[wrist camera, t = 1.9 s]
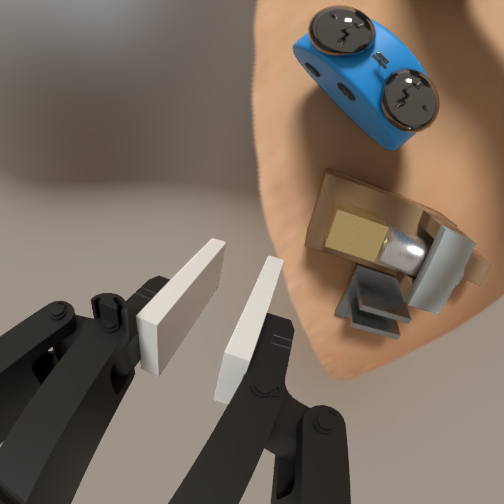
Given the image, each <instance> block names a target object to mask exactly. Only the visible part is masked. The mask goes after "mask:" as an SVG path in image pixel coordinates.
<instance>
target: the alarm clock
mask: <svg viewBox="0 0 504 504" xmlns="http://www.w3.org/2000/svg"><path fill="white" fill-rule="evenodd" d="M293 52H294V55H295V56H296V58H297V60H298V61H299V62H300V64H301V65H302V66H303V67H304V69H305V70H306V71H307V72H308V73H309V75H310V76H311V77H312V78H313V79H314V80H315V81H316V83H317V84H318V85H319V86H320V87H321V88H322V89H323V90H324V91H325V92H326V93H327V94H328V96H329V97H330V98H331V99H332V100H333V101H334V102H335V103H336V104H337V105H338V106H339V107H340V108H341V109H342V110H343V111H344V112H345V113H346V114H347V115H348V116H349V117H350V118H351V119H352V120H353V121H354V122H355V123H356V124H357V125H358V126H359V127H360V128H361V129H362V130H363V131H364V132H365V133H366V134H367V135H368V136H370V137H371V138H372V139H373V140H374V141H375V142H376V143H378V144H379V145H380V146H382V147H383V148H385V149H387V150H390V151H395V150H397V149H398V148H399V147H400V146H402V145H403V144H404V143H405V142H406V141H407V140H409V139H410V138H411V137H412V136H413V135H414V134H416V133H417V132H421V131H423V130H426V129H427V128H429V127H430V126H431V125H432V124H433V123H434V121H435V120H436V118H437V115H438V112H439V106H440V101H439V95H438V92H437V90H436V87H435V86H434V84H433V82H432V81H431V80H430V79H429V78H428V76H427V74H426V72H425V70H424V69H423V67H422V66H421V64H420V63H419V61H418V60H417V59H416V57H415V56H414V55H413V54H412V52H411V51H410V50H409V49H408V48H407V47H406V46H405V45H404V44H403V43H402V42H401V41H400V40H399V39H398V38H397V37H396V36H395V35H394V34H392V33H391V32H390V31H389V30H387V29H386V28H385V27H383V26H382V25H380V24H379V23H377V22H375V21H374V20H372V19H370V18H369V17H368V16H367V15H366V14H365V13H363V12H362V11H360V10H358V9H356V8H353V7H350V6H343V5H335V6H330V7H326V8H324V9H322V10H320V11H319V12H317V13H316V14H315V15H314V16H313V17H312V19H311V21H310V23H309V26H308V33H307V34H305V35H304V36H303V37H302V38H300V39H299V40H298V41H297V42H296V43H295V44H294V45H293Z"/></svg>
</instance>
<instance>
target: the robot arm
mask: <svg viewBox="0 0 504 504" xmlns="http://www.w3.org/2000/svg"><path fill="white" fill-rule="evenodd" d="M225 248H226V242H224V241H221V240H217V239H214V238H212V239H211V240H210V241H209V242H208V243H207V244H206V245H205V246H204V247H203V248H202V249H201V250H200V251H199V252H198V253H197V254H196V255H195V256H194V257H193V258H192V259H191V260H190V261H189V262H188V263H187V264H186V265H185V266H184V267H183V268H182V269H181V270H180V271H179V272H178V273H177V274H176V275H175V276H174V277H173V278H172V279H171V280H169V279H166V278H164V277H161V276H157V277H155V278H152V279H150V280H148V281H147V282H146V283H145V284H144V285H143V286H142V287H141V288H140V289H138V290H137V291H136V293H134V294H133V295H132V296H131V297H130V298H129V299H128V300H127V301H125V300H124V299H123V298H122V297H121V296H119V295H117V294H112V293H102V294H99V295H96V296H95V297H93V298H92V299H91V304H92V309H93V315H94V319H92V318H87V317H83V316H79V315H75V312H74V308H73V307H72V305H71V304H69V303H67V302H65V301H55V302H52V303H50V304H48V305H47V306H45V307H43V308H42V309H40V310H39V311H37V312H36V313H34V314H33V315H31V316H30V317H28V318H27V319H25V320H24V321H22V322H21V323H19V324H18V325H16V326H15V327H13V328H12V329H11V330H9V331H8V332H6V333H5V334H3V335H2V336H1V337H0V444H1V443H2V442H3V441H4V440H5V441H4V442H3V444H2V446H1V447H0V504H71V502H72V500H73V498H74V495H75V493H76V491H77V489H78V487H79V484H80V482H81V480H82V478H83V476H84V474H85V472H86V469H87V467H88V465H89V463H90V461H91V459H92V457H93V455H94V453H95V451H96V449H97V447H98V445H99V443H100V441H101V439H102V437H103V435H104V433H105V431H106V429H107V427H108V425H109V423H110V421H111V419H112V417H113V415H114V413H115V412H116V410H117V408H118V406H119V404H120V402H121V400H122V398H123V397H124V394H125V393H126V391H127V389H128V387H129V385H130V384H131V382H132V380H133V378H134V375H135V369H134V367H135V366H136V365H137V363H138V362H139V361H140V363H141V368H142V369H143V370H145V371H148V372H150V373H152V374H154V375H156V376H158V377H159V376H160V374H161V373H162V371H163V370H164V368H165V367H166V365H167V363H168V362H169V361H170V359H171V358H172V356H173V355H174V353H175V352H176V350H177V348H178V347H179V345H180V344H181V342H182V341H183V339H184V338H185V336H186V335H187V333H188V332H189V330H190V329H191V327H192V326H193V324H194V323H195V321H196V320H197V318H198V317H199V315H200V313H201V312H202V311H203V309H204V308H205V306H206V305H207V303H208V302H209V300H210V299H211V297H212V296H213V294H214V293H215V291H216V290H217V288H218V285H219V279H220V274H221V268H222V263H223V258H224V253H225ZM283 261H284V260H282V259H278V258H275V257H272V256H268V258H267V260H266V262H265V264H264V267H263V269H262V271H261V273H260V276H259V278H258V280H257V282H256V285H255V287H254V289H253V291H252V293H251V296H250V298H249V300H248V302H247V304H246V307H245V309H244V311H243V313H242V315H241V317H240V320H239V322H238V324H237V326H236V328H235V331H234V333H233V335H232V337H231V339H230V341H229V343H228V346H227V348H226V350H225V352H224V356H223V360H222V365H221V369H220V373H219V377H218V382H217V386H216V391H215V394H214V400H216V401H219V402H221V403H224V404H227V405H228V406H227V408H226V410H225V411H224V413H223V415H222V417H221V418H220V420H219V422H218V424H217V425H216V427H215V429H214V431H213V432H212V434H211V436H210V438H209V440H208V441H207V443H206V444H205V446H204V448H203V449H202V451H201V453H200V454H199V456H198V458H197V459H196V461H195V463H194V464H193V466H192V467H191V469H190V471H189V472H188V474H187V476H186V477H185V479H184V480H183V482H182V483H181V485H180V487H179V488H178V489H177V491H176V492H175V494H174V496H173V497H172V499H171V500H170V502H169V503H168V504H239V502H240V500H241V498H242V496H243V494H244V492H245V489H246V487H247V485H248V483H249V481H250V479H251V477H252V474H253V472H254V470H255V468H256V466H257V463H258V461H259V459H260V456H261V454H262V452H263V449H264V448H265V449H267V450H268V451H270V452H272V453H273V454H275V466H274V476H273V486H272V496H271V504H351V497H350V475H349V460H348V447H347V437H346V436H347V435H346V425H345V422H344V419H343V417H342V416H341V414H340V413H339V412H338V411H337V410H335V409H333V408H332V407H328V406H325V405H320V406H314V407H312V408H309V407H307V406H305V405H303V404H302V403H300V402H298V401H297V400H295V399H294V398H293V397H292V396H291V395H290V394H289V393H288V391H287V389H286V386H285V375H286V371H287V366H288V361H289V356H290V351H291V346H292V340H293V335H294V328H293V325H292V322H291V320H289V319H285V318H282V317H279V316H276V315H272V314H269V313H267V311H268V307H269V305H270V301H271V298H272V295H273V292H274V289H275V286H276V283H277V280H278V277H279V273H280V270H281V267H282V264H283ZM51 347H53V349H54V350H53V351H48V350H49V349H50V348H51Z"/></svg>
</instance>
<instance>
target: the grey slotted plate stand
mask: <svg viewBox="0 0 504 504" xmlns="http://www.w3.org/2000/svg"><path fill="white" fill-rule="evenodd" d="M405 304H406V299H405V297H404V294H403V292H402V290H401V287H400V285H399V283H398V280H397V278H396V276H395V275H393V274H390V273H387V272H384V271H381V270H378V269H375V268H372V267H369V266H366V265H363V264H360V263H357V264H356V266H355V268H354V271H353V273H352V275H351V278H350V280H349V282H348V284H347V286H346V289H345V291H344V293H343V295H342V297H341V299H340V301H339V304H338V306H337V308H336V310H335V315H338V316H342V317H345V318H349V319H350V327H353V328H356V329H360V330H364V331H367V332H371V333H375V334H379V335H383V336H387V337H390V338H394V339H398V338H399V337H400V332H399V328H398V325H397V322H396V320H398V321H401V322H405V323H409V322H410V320H411V318H410V315H409V312H408V310H407V307H406V305H405Z"/></svg>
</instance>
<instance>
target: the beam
mask: <svg viewBox="0 0 504 504" xmlns="http://www.w3.org/2000/svg"><path fill="white" fill-rule="evenodd" d="M335 199H336V200H339V201H342V202H345V203H348V204H351V205H354V206H357V207H359V208H362V209H365V210H368V211H371V212H373V213H376V214H379V215H380V216H381V217H382V218H383V220H384V221H385V223H386V224H387V225H390V226H392V227H395V228H397V229H400V230H403V231H405V232H408V233H410V234H413V235H415V236H418V237H420V238H423V239H425V240H428V241H430V242H432V243H433V244H432V246H431V248H430V251H429V253H428V255H427V257H426V259H425V261H424V263H423V265H422V267H421V269H420V271H419V273H418V275H417V277H413V276H410V275H408V274H405V273H402V272H399V271H396V270H393V269H390V268H387V267H384V266H381V265H378V264H375V263H373V262H371V261H368V260H365V259H362V258H359V257H356V256H353V255H350V254H347V253H344V252H341V251H338V250H335V249H332V248H329V247H326V246H325V229H326V226H327V223H328V220H329V217H330V214H331V211H332V208H333V205H334V201H335ZM475 245H476V243H475V242H473V241H472V240H471V239H470V238H469V237H468V236H466V235H465V234H464V233H463V232H462V231H461V230H459V229H458V228H457V225H456V224H454V223H453V222H452V221H450V220H449V219H448V218H447V217H445V216H444V215H443V214H441V213H439V212H437V211H435V210H433V209H431V208H429V207H426V206H424V205H422V204H420V203H417V202H415V201H413V200H410V199H408V198H405V197H403V196H401V195H398V194H396V193H393V192H391V191H388V190H386V189H383V188H380V187H378V186H375V185H372V184H370V183H367V182H364V181H361V180H359V179H356V178H353V177H350V176H347V175H344V174H341V173H338V172H335V171H332V170H329V169H326V170H325V173H324V177H323V180H322V184H321V187H320V190H319V194H318V197H317V200H316V204H315V207H314V210H313V213H312V217H311V220H310V223H309V226H308V229H307V235H306V241H305V246H307V247H310V248H313V249H316V250H319V251H323V252H326V253H329V254H332V255H335V256H338V257H341V258H344V259H347V260H351V261H354V262H357V263H360V264H363V265H366V266H369V267H372V268H375V269H378V270H381V271H384V272H387V273H390V274H393V275H395V276H396V278H397V280H398V283H399V285H400V287H401V290H402V292H403V294H404V297H405V299H406V302H407V304H408V306H411V307H415V308H418V309H421V310H424V311H428V312H431V313H434V314H439V313H440V311H441V309H442V308H443V306H444V304H445V303H446V301H447V299H448V298H449V296H450V294H451V292H452V291H453V289H454V287H455V285H456V283H457V281H458V280H459V278H460V276H461V274H462V272H463V270H464V268H465V270H464V274H463V277H462V278H463V279H465V280H467V281H470V282H472V283H475V284H477V285H479V286H481V284H482V282H483V280H484V278H485V276H486V274H487V272H488V270H489V268H490V266H491V265H490V264H489V263H488V262H487V261H486V260H485V259H484V258H483V257H482V256H481V255H480V254H479V253H477V252H476V251H475V250H474V247H475Z"/></svg>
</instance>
